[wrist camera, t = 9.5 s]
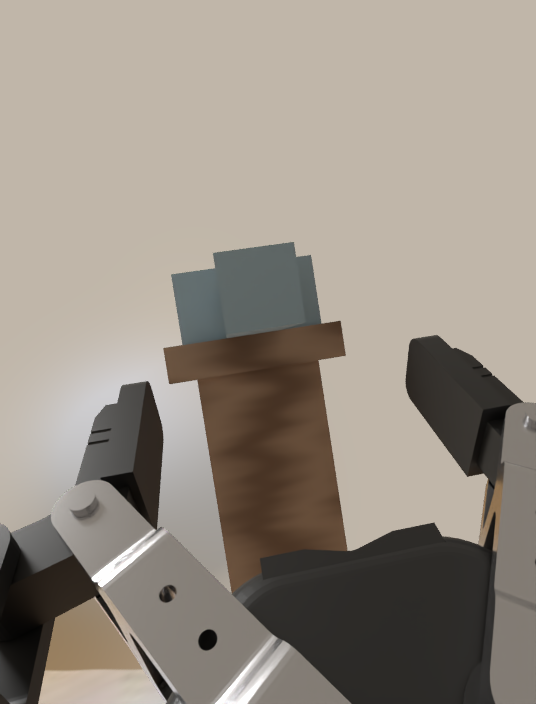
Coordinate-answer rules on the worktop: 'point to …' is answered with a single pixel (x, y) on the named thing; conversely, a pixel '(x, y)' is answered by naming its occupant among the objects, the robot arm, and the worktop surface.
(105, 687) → the worktop surface
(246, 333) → the blue-grey stepped block
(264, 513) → the walnut stand
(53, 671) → the worktop surface
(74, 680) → the worktop surface
